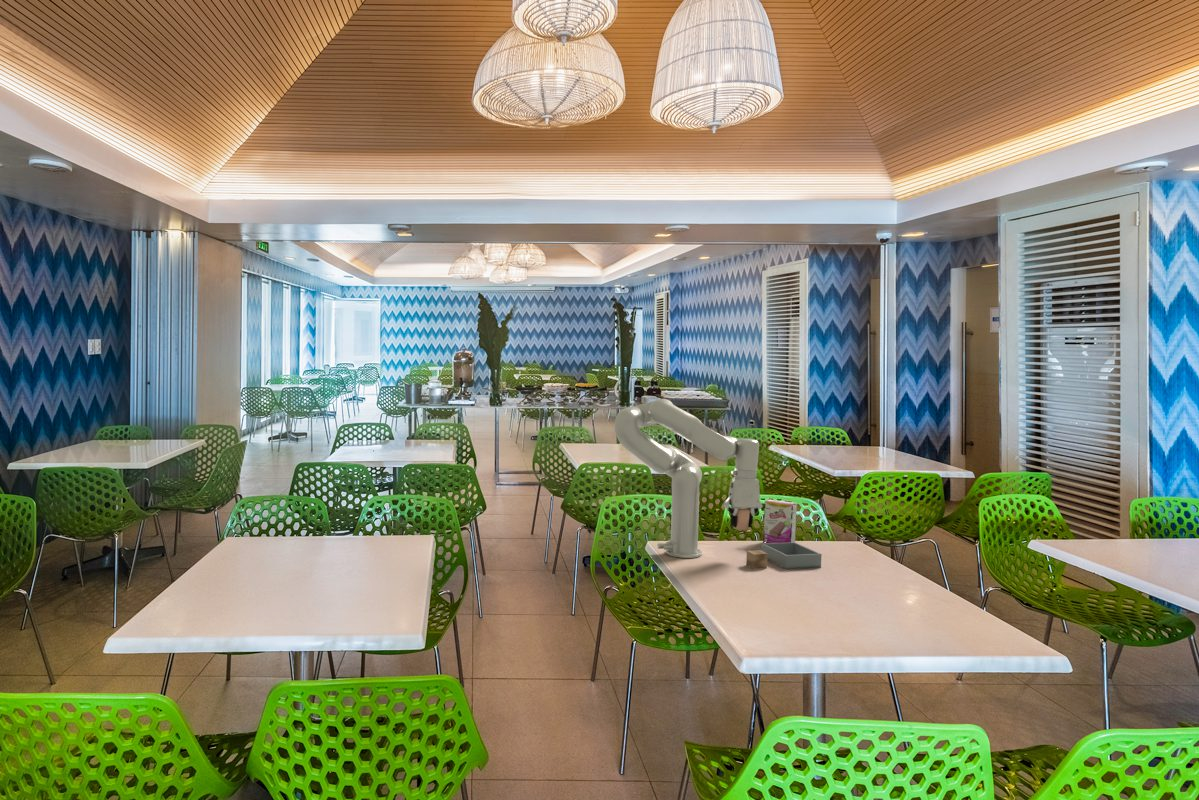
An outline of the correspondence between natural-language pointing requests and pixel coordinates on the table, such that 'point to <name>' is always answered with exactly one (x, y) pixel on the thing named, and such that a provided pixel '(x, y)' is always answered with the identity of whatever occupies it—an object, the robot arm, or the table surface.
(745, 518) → the terracotta cylinder
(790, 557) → the grey tote
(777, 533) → the candy bar box
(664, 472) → the robot arm
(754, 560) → the walnut cube
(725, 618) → the table surface
